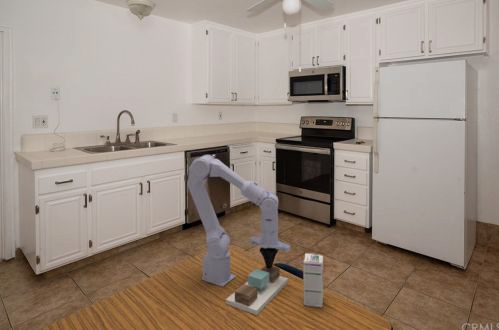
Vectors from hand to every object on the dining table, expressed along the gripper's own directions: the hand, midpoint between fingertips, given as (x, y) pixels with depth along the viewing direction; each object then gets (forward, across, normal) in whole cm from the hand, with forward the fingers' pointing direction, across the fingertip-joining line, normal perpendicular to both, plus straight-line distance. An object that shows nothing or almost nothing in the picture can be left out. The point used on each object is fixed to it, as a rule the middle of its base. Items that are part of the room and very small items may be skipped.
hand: (269, 267), depth 110 cm
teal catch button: (+2, 0, -8) cm, 8 cm away
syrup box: (+6, +17, -3) cm, 18 cm away
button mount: (+6, 0, -8) cm, 9 cm away
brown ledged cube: (+4, 0, -15) cm, 16 cm away
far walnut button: (+4, 0, 0) cm, 4 cm away
